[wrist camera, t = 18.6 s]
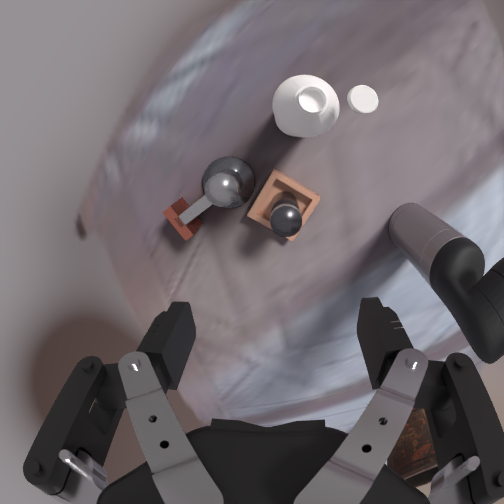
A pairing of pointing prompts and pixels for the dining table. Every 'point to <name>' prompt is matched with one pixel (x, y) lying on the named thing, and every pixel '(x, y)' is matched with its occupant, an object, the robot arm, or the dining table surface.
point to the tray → (278, 184)
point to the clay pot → (414, 451)
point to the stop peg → (285, 215)
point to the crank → (204, 202)
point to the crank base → (241, 169)
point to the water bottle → (315, 105)
